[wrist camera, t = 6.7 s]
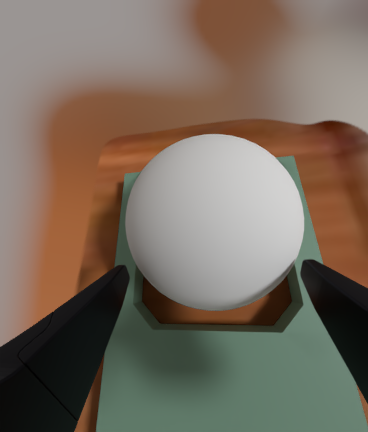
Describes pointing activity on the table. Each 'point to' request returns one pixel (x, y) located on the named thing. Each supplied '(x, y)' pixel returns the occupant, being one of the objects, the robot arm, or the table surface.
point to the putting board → (225, 363)
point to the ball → (214, 222)
